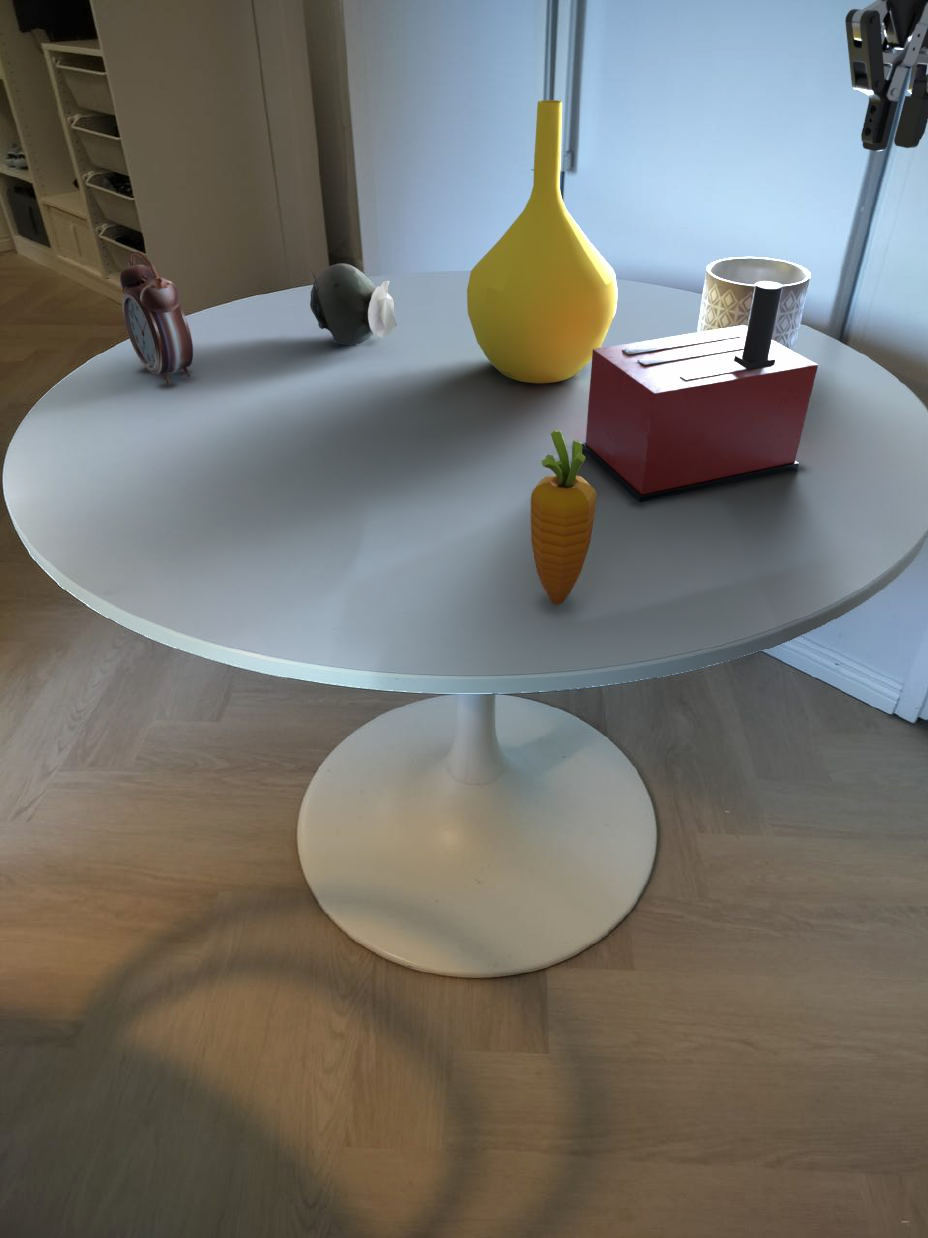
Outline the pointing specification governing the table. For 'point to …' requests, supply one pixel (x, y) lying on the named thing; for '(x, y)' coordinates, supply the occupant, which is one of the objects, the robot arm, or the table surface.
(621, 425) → the knife block
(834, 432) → the table surface
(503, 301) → the vase
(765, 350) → the slider
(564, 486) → the carrot
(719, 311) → the planter
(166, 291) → the alarm clock
